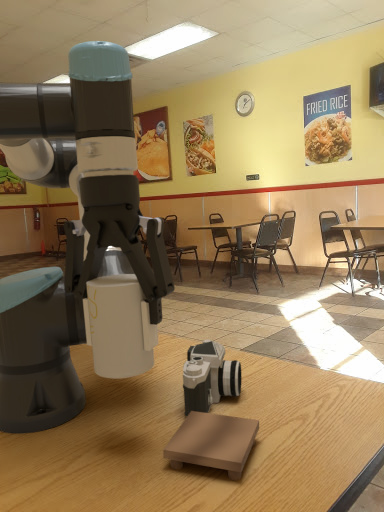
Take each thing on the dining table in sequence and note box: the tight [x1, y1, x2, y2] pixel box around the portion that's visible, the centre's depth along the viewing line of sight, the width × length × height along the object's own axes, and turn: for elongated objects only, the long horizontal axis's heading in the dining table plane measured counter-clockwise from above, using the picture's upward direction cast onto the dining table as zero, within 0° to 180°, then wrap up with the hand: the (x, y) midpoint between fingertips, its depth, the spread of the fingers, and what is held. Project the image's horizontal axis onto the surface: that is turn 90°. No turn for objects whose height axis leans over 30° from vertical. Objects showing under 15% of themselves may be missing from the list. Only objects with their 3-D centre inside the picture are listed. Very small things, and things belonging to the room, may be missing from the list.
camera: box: [182, 339, 243, 417], centre depth 73 cm, size 16×9×10 cm, turn 168°
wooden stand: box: [162, 411, 260, 481], centre depth 58 cm, size 10×10×3 cm
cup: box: [86, 274, 155, 379], centre depth 59 cm, size 8×8×12 cm
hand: (122, 344), depth 59 cm, fingers closed on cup, 8 cm apart
